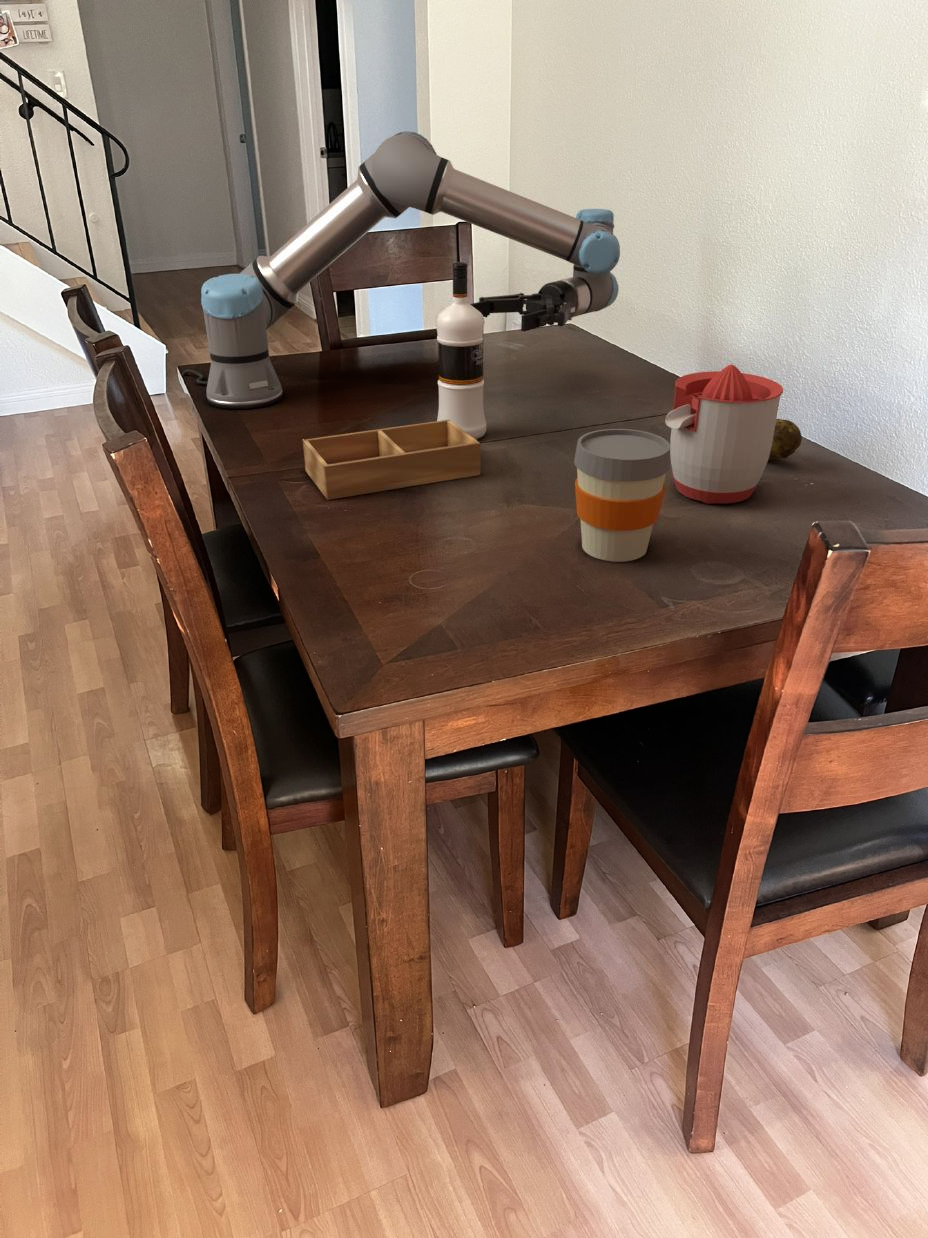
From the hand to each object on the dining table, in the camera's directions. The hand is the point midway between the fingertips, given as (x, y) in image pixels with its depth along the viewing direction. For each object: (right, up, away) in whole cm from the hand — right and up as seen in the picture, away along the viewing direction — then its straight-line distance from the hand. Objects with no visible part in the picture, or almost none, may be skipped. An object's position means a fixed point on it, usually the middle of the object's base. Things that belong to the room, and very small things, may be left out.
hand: (493, 318), depth 165 cm
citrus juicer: (+33, -35, -23) cm, 54 cm away
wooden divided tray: (-17, -31, -15) cm, 39 cm away
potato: (+46, -28, -11) cm, 55 cm away
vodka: (-6, -21, +1) cm, 22 cm away
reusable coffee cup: (+15, -45, -40) cm, 62 cm away
